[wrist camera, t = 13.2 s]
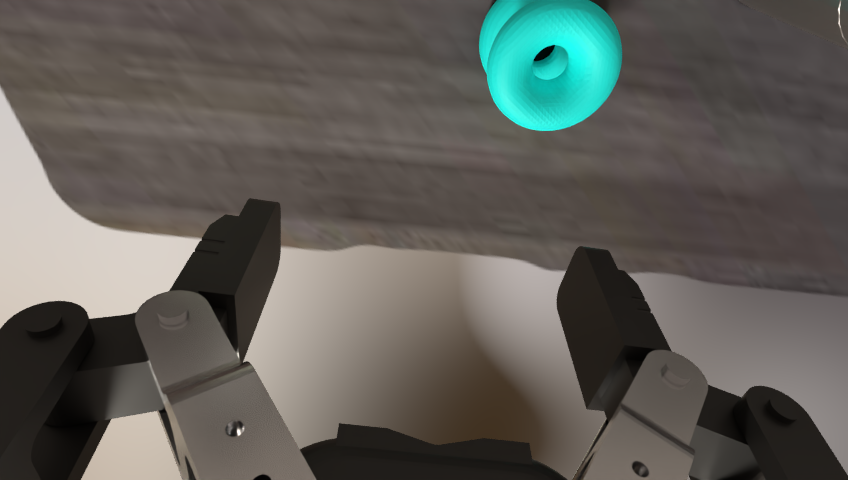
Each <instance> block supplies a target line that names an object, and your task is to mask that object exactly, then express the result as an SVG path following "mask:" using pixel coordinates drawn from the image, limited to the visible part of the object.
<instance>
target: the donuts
mask: <svg viewBox="0 0 848 480" xmlns="http://www.w3.org/2000/svg"><path fill="white" fill-rule="evenodd" d="M551 45H555V47H554V49H553V51H552V53H551V54H550V55H549V56H548V57H546V58H545V59H543V60H540V61H534V58H535V57H536V55H537V54H538V53H539V52H540V51H541V50H542V49H544V48H546V47H547V46H551ZM479 50H480V57H481V61H482V65H483V67H484V70H485V72H486V73H487V81H488V86H489V90H490V93H491V95H492V98H493V100H494V102H495V103H496V105H497V107H498V108H499V109H500V110H501V112H502V113H503V114H504V115H505V116H506V117H508V118H509V119H510V120H512V121H513V122H515V123H516V124H518V125H520V126H523V127H525V128H528V129H533V130H539V131H552V130H559V129H563V128H567V127H570V126H572V125H575V124H577V123H579V122H581V121H583V120H584V119H586V118H587V117H589V116H590V115H591V114H592V113H594V112H595V111H596V110H597V109H598V108H599V107H600V106H601V105H602V104H603V103H604V102H605V100H606V99H607V98H608V96H609V95H610V93H611V92H612V90H613V88H614V86H615V84H616V82H617V79H618V76H619V73H620V69H621V63H622V46H621V40H620V36H619V33H618V30H617V28H616V26H615V24H614V22H613V20H612V19H611V18H610V16H609V15H608V14H607V13H606V12H605V11H604V10H603V9H602V8H601V7H599V6H598V5H597V4H595V3H593V2H592V1H590V0H497V1H496V2H495V3H494V4H493V6H492V7H491V8H490V10H489V12H488V13H487V15H486V17H485V20H484V22H483V25H482V29H481V33H480V40H479Z"/></svg>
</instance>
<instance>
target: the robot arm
mask: <svg viewBox="0 0 848 480" xmlns="http://www.w3.org/2000/svg"><path fill="white" fill-rule="evenodd" d="M738 1H740V2H741V3H742V4H744V5H746V6H748V7H750V8H752V9H755V10H757V11H759V12H761V13H764V14H766V15H768V16H770V17H773V18H775V19H777V20H780V21H782V22H784V23H787V24H789V25H791V26H794V27H796V28H799V29H801V30H803V31H806V32H808V33H810V34H813V35H815V36H817V37H820V38H822V39H824V40H827V41H829V42H832V43H834V44H836V45H839V46H841V47H843V48H846V49H848V0H738ZM280 249H281V211H280V204H279V203H278V202H272V201H265V200H258V199H251V198H250V199H248V201H247V203H246V204H245V206H244V208H243V210H242V212H241V213H240V215H239V216H233V215H224V216H223V217H221V218H220V219H218V220H217V221H215V222H214V223H212V224H211V225H210V226H209V227H208V229H207V231H206V232H205V234H204V236H203V237H202V241H200V242H199V244H198V245H197V247H196V249H195V252H193V253H192V255H191V257H190V258H189V260H188V261H187V263H186V265H185V266H184V268H183V270H182V271H181V273H180V275H179V276H178V278H177V279H176V281H175V283H174V284H173V286H172V288H171V289H170V291H169V292H165V293H161V294H158V295H156V296H154V297H152V298H150V299H149V300H147V301H146V302H145V303H143V304H142V305H141V307H140V308H139V309H138V311H137V312H136V313H133V314H128V315H121V316H112V317H103V318H94V319H89V317H88V315H87V312H86V311H85V309H84V308H82V307H81V306H80V305H78V304H75V303H72V302H66V301H54V302H46V303H41V304H37V305H34V306H31V307H29V308H26V309H24V310H22V311H20V312H19V313H17V314H16V315H14V316H13V317H12V318H10V319H9V320H8V321H7V322H6V323H5V324H4V325H3V326H2V328H1V329H0V480H81V478H82V476H83V474H84V472H85V470H86V468H87V466H88V464H89V462H90V460H91V458H92V456H93V454H94V452H95V450H96V448H97V446H98V444H99V442H100V440H101V438H102V436H103V434H104V432H105V430H106V428H107V426H108V424H109V423H110V420H111V419H112V418H119V417H125V416H130V415H136V414H142V413H147V412H153V411H157V412H158V415H159V418H160V420H161V423H162V426H163V428H164V431H165V434H166V436H167V439H168V442H169V444H170V447H171V450H172V453H173V455H174V458H175V461H176V464H177V466H178V469H179V471H180V474H181V477H182V480H567V479H566V478H565V477H563V476H562V475H561V474H559V473H558V472H557V471H555V470H553V469H552V468H550V467H548V466H547V465H545V464H543V463H540V462H538V461H536V460H533V459H532V456H531V451H530V445H529V443H524V442H514V441H504V440H495V439H485V438H483V439H477V440H470V441H463V442H456V443H449V444H443V445H434V444H430V443H427V442H424V441H422V440H419V439H416V438H413V437H410V436H407V435H405V434H402V433H399V432H396V431H393V430H390V429H388V428H378V427H369V426H359V425H350V424H340V423H339V428H338V434H337V438H335V439H329V440H325V441H321V442H318V443H314V444H312V445H309V446H307V447H304V448H302V449H299V448H298V446H297V444H296V442H295V441H294V439H293V437H292V435H291V433H290V432H289V430H288V428H287V426H286V425H285V423H284V421H283V419H282V418H281V416H280V414H279V412H278V410H277V408H276V407H275V405H274V403H273V401H272V400H271V398H270V396H269V394H268V392H267V390H266V389H265V387H264V385H263V383H262V382H261V380H260V378H259V376H258V375H257V373H256V371H255V369H254V368H253V366H252V365H251V364H250V363H249V362H244V363H243V360H244V358H245V355H246V353H247V350H248V347H249V345H250V342H251V339H252V337H253V334H254V331H255V329H256V326H257V323H258V321H259V318H260V316H261V313H262V310H263V308H264V305H265V302H266V299H267V297H268V294H269V292H270V289H271V286H272V284H273V281H274V278H275V276H276V273H277V270H278V266H279V260H280ZM557 310H558V314H559V317H560V320H561V324H562V327H563V331H564V334H565V337H566V341H567V344H568V348H569V351H570V354H571V358H572V361H573V364H574V368H575V371H576V374H577V378H578V381H579V385H580V388H581V391H582V395H583V398H584V402H585V405H586V409H591V410H600V411H604V412H605V415H606V420H605V422H604V423H603V425H602V426H601V428H600V430H599V432H598V433H597V435H596V437H595V439H594V441H593V442H592V445H591V446H590V448H589V450H588V452H587V453H586V455H585V457H584V459H583V461H582V463H581V464H580V466H579V468H578V470H577V472H576V474H575V475H574V477H573V479H572V480H687V477H688V475H689V477H690V480H848V475H847V474H846V472H845V471H844V469H843V467H842V466H841V464H840V463H839V461H838V460H837V458H836V457H835V455H834V453H833V452H832V450H831V449H830V447H829V446H828V444H827V443H826V441H825V439H824V438H823V436H822V435H821V433H820V432H819V430H818V428H817V427H816V425H815V424H814V422H813V421H812V419H811V418H810V416H809V415H808V414H807V412H806V411H805V410H804V409H803V408H802V407H801V406H800V405H799V404H798V403H797V402H795V401H794V400H793V399H792V398H790V397H789V396H787V395H785V394H784V393H782V392H780V391H778V390H775V389H773V388H769V387H765V386H754V387H752V388H750V389H749V390H748V391H747V392H746V393H745V394H744V395H743V397H742V398H741V397H739V396H736V395H734V394H731V393H728V392H725V391H723V390H720V389H718V388H715V387H712V386H710V385H708V383H707V380H706V378H705V376H704V375H703V373H702V372H701V371H700V370H699V368H698V367H697V366H696V365H694V364H693V363H692V362H691V361H690V360H688V359H686V358H685V357H683V356H681V355H679V354H677V353H675V352H672V351H671V349H670V347H669V345H668V343H667V341H666V339H665V337H664V335H663V333H662V331H661V329H660V327H659V326H658V324H657V321H656V319H655V317H654V315H653V314H652V313H650V311H651V310H650V308H649V306H648V304H647V302H646V301H645V298H644V296H643V294H642V292H641V290H640V288H639V286H638V284H637V283H636V282H635V281H634V280H633V279H632V278H631V277H630V276H629V275H628V274H627V273H626V272H625V271H623V270H618V268H617V266H616V264H615V262H614V260H613V258H612V256H611V254H610V252H609V251H608V250H604V249H597V248H590V247H583V246H580V247H578V248H577V249H576V251H575V253H574V255H573V257H572V259H571V262H570V264H569V266H568V269H567V271H566V273H565V275H564V278H563V280H562V282H561V285H560V287H559V290H558V294H557Z"/></svg>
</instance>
